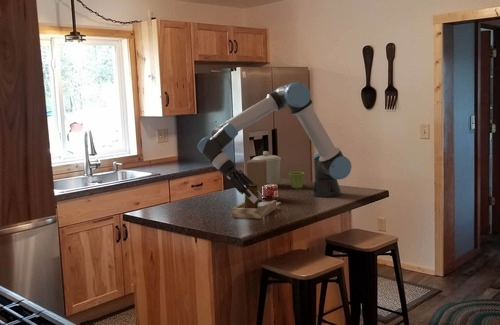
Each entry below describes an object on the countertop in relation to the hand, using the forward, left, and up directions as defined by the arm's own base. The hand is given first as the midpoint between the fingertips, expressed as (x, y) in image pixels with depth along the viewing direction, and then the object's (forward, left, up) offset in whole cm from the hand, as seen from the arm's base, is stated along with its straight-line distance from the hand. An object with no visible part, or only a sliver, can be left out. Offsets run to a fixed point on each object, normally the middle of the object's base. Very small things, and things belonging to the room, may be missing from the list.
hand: (258, 199), depth 237 cm
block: (+16, -37, -7) cm, 41 cm away
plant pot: (+4, -68, -7) cm, 68 cm away
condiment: (+4, +1, -5) cm, 6 cm away
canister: (+24, -72, -7) cm, 76 cm away
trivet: (+4, -20, -7) cm, 21 cm away
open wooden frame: (+4, -4, -7) cm, 9 cm away
